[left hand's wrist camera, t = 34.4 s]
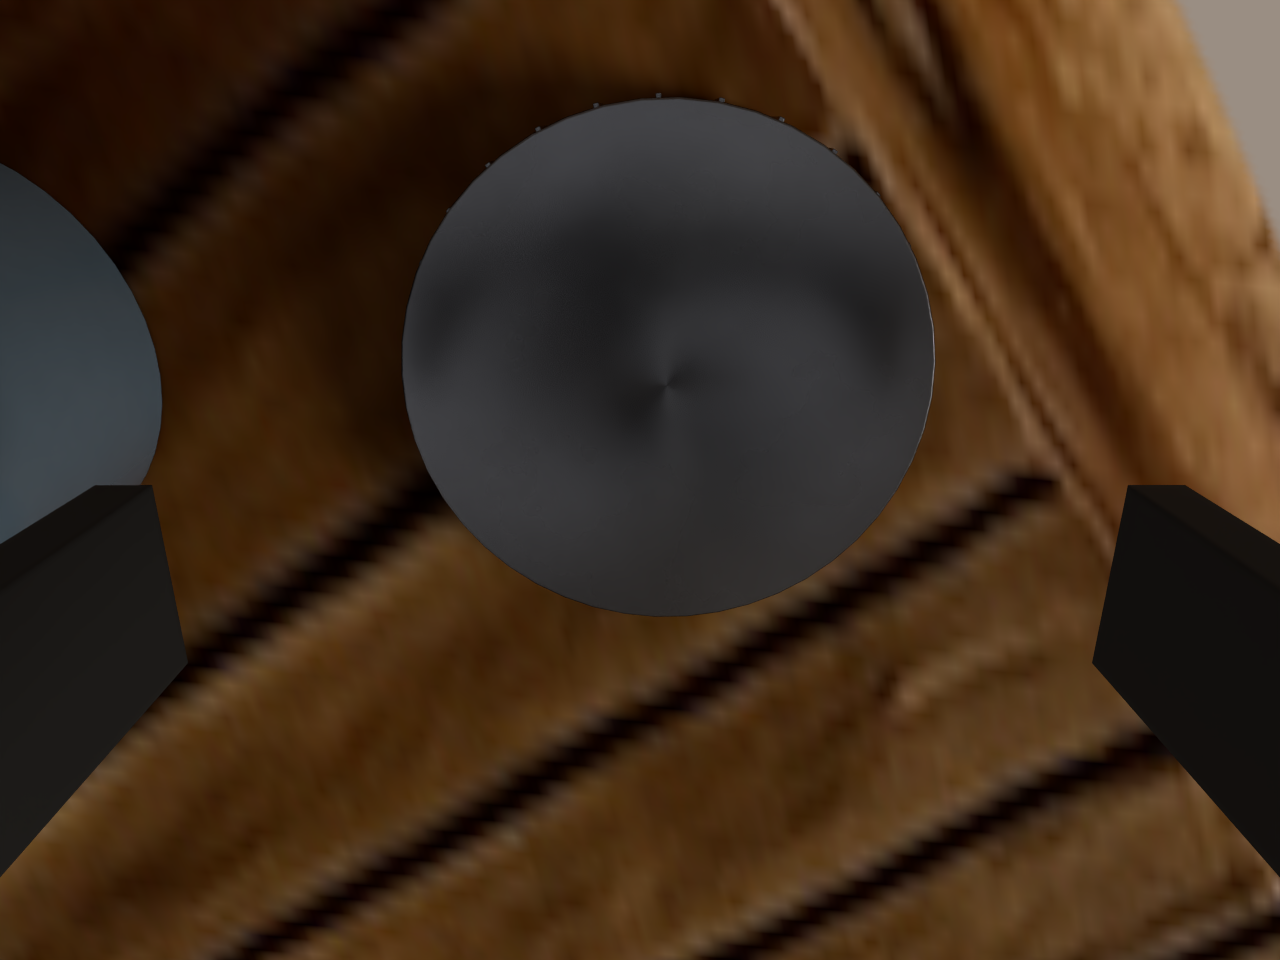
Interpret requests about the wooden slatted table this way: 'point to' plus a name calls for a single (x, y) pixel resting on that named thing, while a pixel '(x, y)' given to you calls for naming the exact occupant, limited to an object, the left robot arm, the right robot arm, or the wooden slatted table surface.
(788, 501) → the lid
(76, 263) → the jar
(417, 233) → the wooden slatted table surface
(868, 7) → the wooden slatted table surface
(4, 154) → the wooden slatted table surface
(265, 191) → the wooden slatted table surface
